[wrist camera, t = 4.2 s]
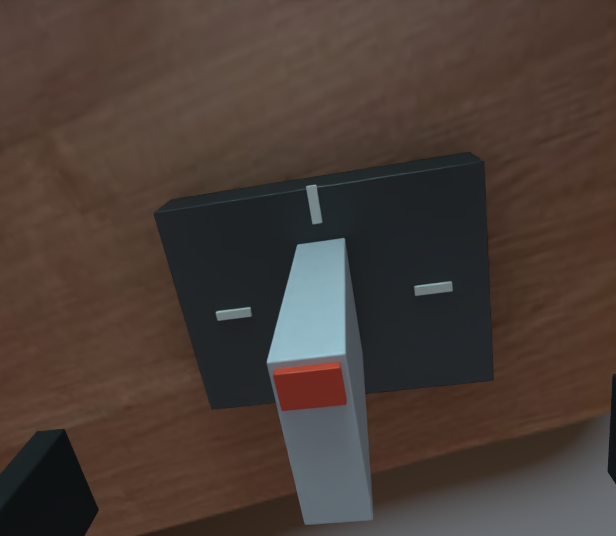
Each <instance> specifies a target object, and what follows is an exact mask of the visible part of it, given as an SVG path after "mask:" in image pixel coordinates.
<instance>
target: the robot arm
mask: <svg viewBox="0 0 616 536" xmlns="http://www.w3.org/2000/svg"><path fill="white" fill-rule="evenodd" d="M608 473H609V474H610V476H611V477H612V479H613V481H614V482H615V483H616V374H613V380H612V399H611V418H610V437H609V456H608ZM98 511H99V509H98V507H97V505H96V502H95V500H94V498H93V495H92V493H91V491H90V488H89V486H88V483H87V481H86V479H85V476H84V474H83V472H82V469H81V467H80V465H79V462H78V460H77V457H76V455H75V453H74V450H73V448H72V446H71V443H70V441H69V439H68V436H67V434H66V431H65V429H57V430H47V431H37V432H36V433H35V434H34V435H33V437H32V438H31V439H30V440H29V441H28V442H27V443H26V445H25V446H24V447H23V448H22V449H21V450H20V452H19V453H18V454H17V455H16V456H15V457H14V459H13V460H12V461H11V462H10V463H9V464H8V466H7V467H6V468H5V469H4V470H3V471H2V473H1V474H0V536H85V534H86V532H87V530H88V528H89V527H90V525H91V523H92V521H93V520H94V518H95V516H96V514H97V513H98Z"/></svg>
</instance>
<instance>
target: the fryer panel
mask: <svg viewBox="0 0 616 536" xmlns="http://www.w3.org/2000/svg"><path fill="white" fill-rule="evenodd" d="M154 216H155V220H156V223H157V227H158V230H159V233H160V237H161V240H162V244H163V247H164V250H165V254H166V257H167V261H168V264H169V267H170V271H171V274H172V278H173V281H174V284H175V288H176V291H177V295H178V298H179V301H180V305H181V308H182V312H183V315H184V318H185V322H186V325H187V328H188V332H189V335H190V339H191V342H192V345H193V349H194V352H195V356H196V359H197V362H198V366H199V369H200V373H201V376H202V379H203V383H204V386H205V390H206V393H207V396H208V400H209V403H210V407H211V409H212V410H213V409H223V408H232V407H242V406H252V405H262V404H271V403H276V401H275V396H274V392H273V388H272V384H271V379H270V375H269V371H268V367H267V359H268V355H269V351H270V348H271V344H272V340H273V336H274V332H275V328H276V325H277V321H278V317H279V313H280V309H281V305H282V302H283V298H284V294H285V290H286V286H287V282H288V279H289V275H290V271H291V267H292V263H293V259H294V256H295V252H296V248H297V245H299V244H306V243H313V242H320V241H327V240H334V239H341V238H344V239H345V242H346V249H347V255H348V262H349V269H350V275H351V282H352V288H353V295H354V301H355V308H356V314H357V321H358V327H359V334H360V340H361V347H362V353H363V368H364V383H365V394H368V393H378V392H388V391H397V390H407V389H417V388H427V387H436V386H446V385H456V384H465V383H475V382H485V381H493V380H494V375H493V352H492V329H491V307H490V284H489V261H488V238H487V216H486V193H485V170H484V161H483V160H481V159H480V158H478V157H477V156H475V155H474V154H472V153H471V152H467V153H460V154H454V155H448V156H442V157H435V158H429V159H423V160H416V161H410V162H404V163H398V164H391V165H385V166H379V167H373V168H366V169H360V170H354V171H348V172H341V173H335V174H329V175H322V176H316V177H310V178H304V179H297V180H291V181H285V182H279V183H272V184H266V185H260V186H253V187H247V188H241V189H235V190H228V191H222V192H216V193H210V194H203V195H197V196H191V197H184V198H178V199H172V200H170V201H168V202H167V203H166V204H165V205H163V206H162V207H161V208H159V209H158V210H157V211H155V212H154Z"/></svg>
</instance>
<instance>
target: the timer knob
mask: <svg viewBox="0 0 616 536" xmlns="http://www.w3.org/2000/svg"><path fill="white" fill-rule="evenodd" d="M267 367H268V371H269V375H270V379H271V384H272V388H273V392H274V396H275V401H276V405H277V409H278V413H279V418H280V422H281V426H282V430H283V435H284V439H285V443H286V447H287V451H288V456H289V460H290V464H291V468H292V473H293V477H294V481H295V485H296V490H297V494H298V497H299V502H300V506H301V511H302V515H303V519H304V523H305V524H306V525H311V524H323V523H324V524H325V523H338V522H353V521H366V520H373V504H372V490H371V489H372V488H371V473H370V458H369V443H368V428H367V413H366V398H365V383H364V368H363V353H362V347H361V340H360V334H359V327H358V321H357V314H356V308H355V301H354V295H353V288H352V282H351V275H350V269H349V262H348V255H347V249H346V242H345V239H344V238H341V239H334V240H327V241H320V242H313V243H306V244H299V245H297V248H296V252H295V256H294V259H293V263H292V267H291V271H290V275H289V279H288V282H287V286H286V290H285V294H284V298H283V302H282V305H281V309H280V313H279V317H278V321H277V325H276V328H275V332H274V336H273V340H272V344H271V348H270V351H269V355H268V359H267Z"/></svg>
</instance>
